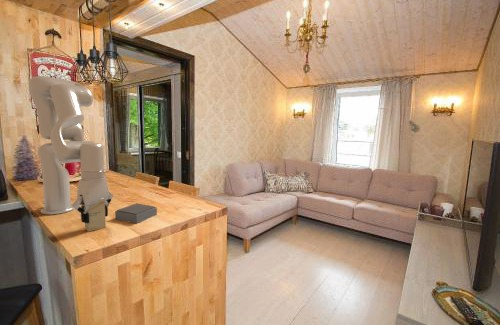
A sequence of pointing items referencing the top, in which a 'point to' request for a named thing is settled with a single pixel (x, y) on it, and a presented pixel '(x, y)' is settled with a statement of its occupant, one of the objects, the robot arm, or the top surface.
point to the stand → (136, 213)
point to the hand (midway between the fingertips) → (95, 218)
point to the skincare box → (96, 216)
